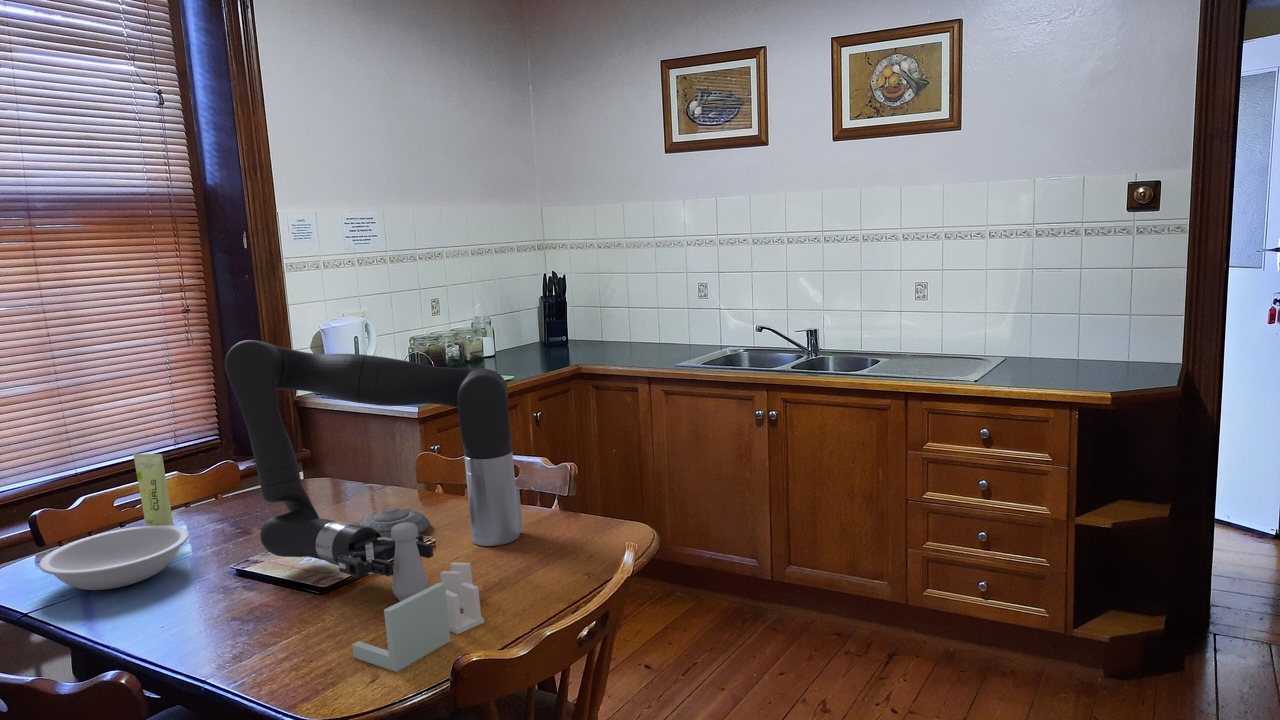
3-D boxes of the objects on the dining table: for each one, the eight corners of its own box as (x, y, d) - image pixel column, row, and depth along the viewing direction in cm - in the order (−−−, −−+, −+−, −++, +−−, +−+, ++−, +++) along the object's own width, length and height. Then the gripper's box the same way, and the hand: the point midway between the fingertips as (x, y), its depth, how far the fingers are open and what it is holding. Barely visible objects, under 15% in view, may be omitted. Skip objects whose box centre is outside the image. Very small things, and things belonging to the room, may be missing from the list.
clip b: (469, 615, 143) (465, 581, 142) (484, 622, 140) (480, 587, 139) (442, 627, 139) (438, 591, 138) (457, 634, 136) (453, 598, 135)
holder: (408, 628, 140) (402, 573, 138) (450, 640, 134) (444, 583, 133) (353, 657, 131) (346, 599, 130) (396, 672, 126) (389, 611, 124)
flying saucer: (342, 537, 184) (338, 511, 183) (408, 517, 194) (405, 493, 193) (375, 554, 173) (372, 527, 172) (444, 532, 183) (441, 506, 182)
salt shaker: (419, 607, 147) (411, 531, 145) (387, 606, 148) (379, 530, 146) (434, 592, 153) (427, 519, 151) (403, 591, 154) (395, 518, 152)
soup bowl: (134, 552, 182) (129, 520, 181) (222, 562, 173) (217, 530, 172) (13, 600, 161) (7, 565, 160) (107, 616, 151) (101, 578, 150)
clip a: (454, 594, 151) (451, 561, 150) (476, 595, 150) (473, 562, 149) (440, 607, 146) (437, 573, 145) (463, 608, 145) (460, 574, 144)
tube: (144, 552, 181) (130, 458, 178) (147, 544, 186) (133, 453, 183) (175, 547, 184) (162, 454, 180) (177, 539, 188) (164, 448, 185)
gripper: (311, 538, 151) (375, 553, 142) (378, 512, 163) (441, 525, 154) (316, 580, 152) (380, 598, 143) (383, 551, 164) (446, 566, 155)
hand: (412, 560), depth 149 cm, fingers open, 8 cm apart
